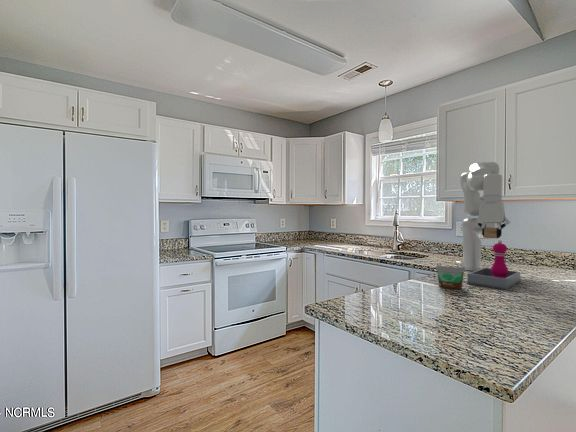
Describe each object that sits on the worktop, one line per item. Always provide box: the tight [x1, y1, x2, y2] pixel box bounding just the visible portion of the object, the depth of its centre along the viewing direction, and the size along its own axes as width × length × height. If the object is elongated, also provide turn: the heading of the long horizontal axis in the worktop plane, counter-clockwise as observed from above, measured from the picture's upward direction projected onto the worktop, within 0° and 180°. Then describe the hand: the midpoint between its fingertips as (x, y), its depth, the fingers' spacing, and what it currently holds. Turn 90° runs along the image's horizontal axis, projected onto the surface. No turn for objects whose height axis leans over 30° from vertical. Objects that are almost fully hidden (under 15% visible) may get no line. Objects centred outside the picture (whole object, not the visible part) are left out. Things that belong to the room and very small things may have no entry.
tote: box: [466, 267, 521, 291], centre depth 152 cm, size 16×26×5 cm, turn 132°
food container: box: [435, 264, 467, 291], centre depth 140 cm, size 12×6×10 cm, turn 62°
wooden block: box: [483, 227, 498, 239], centre depth 148 cm, size 5×5×5 cm
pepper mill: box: [490, 239, 509, 278], centre depth 156 cm, size 7×7×20 cm
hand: (491, 236), depth 148 cm, fingers closed on wooden block, 5 cm apart
